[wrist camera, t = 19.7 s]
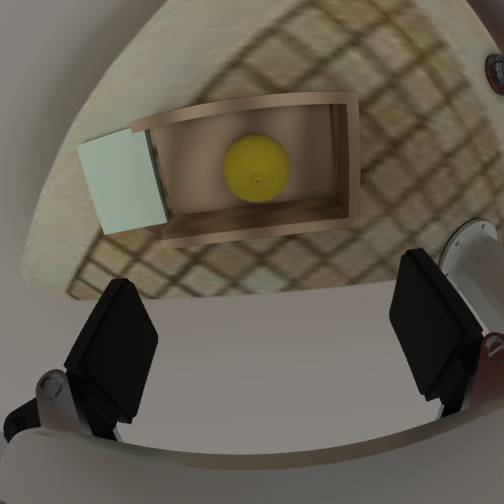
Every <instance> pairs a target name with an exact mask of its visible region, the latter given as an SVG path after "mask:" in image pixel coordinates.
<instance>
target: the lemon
mask: <svg viewBox="0 0 504 504" xmlns="http://www.w3.org/2000/svg"><path fill="white" fill-rule="evenodd" d="M289 174H290V163H289V159H288V156H287V153H286V152H285V150H284V148H283V147H282V146H281V145H280V144H279V143H278V142H277V141H276V140H274V139H272V138H270V137H269V136H265V135H261V134H251V135H247V136H244V137H242V138H240V139H238V140H236V141H235V142H234V143H233V144H232V145H231V146H230V147H229V149H228V150H227V152H226V154H225V157H224V160H223V175H224V179H225V182H226V184H227V185H228V187H229V189H230V190H231V191H232V192H233V193H234V194H235V195H236V196H238V197H239V198H241V199H243V200H246V201H248V202H264V201H267V200H270V199H272V198H274V197H275V196H277V195H278V194H279V193H280V192H281V191H282V190H283V189H284V187H285V185H286V183H287V181H288V178H289Z"/></svg>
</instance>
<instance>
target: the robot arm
mask: <svg viewBox="0 0 504 504" xmlns="http://www.w3.org/2000/svg"><path fill="white" fill-rule="evenodd" d="M458 290H460V291H461V292H462V293H463V294H464V296H465V297H466V299H467V300H468V301H469V303H470V304H471V305H472V307H473V308H474V309H475V311H476V312H477V314H478V315H479V317H480V318H481V320H482V321H483V323H484V324H485V326H486V327H487V329H488V330H489V332H490V333H489V334H487V335H486V336H485V337H483V335H482V331H483V329H482V327H481V326H480V324H479V322H478V321H477V320H476V318H475V316H474V315H473V313H472V312H471V310H470V309H469V308H468V306H467V305H466V303H465V302H464V300H463V299H462V298H461V296H460V295H459V293H458V292H457V291H458ZM389 318H390V322H391V324H392V326H393V329H394V331H395V333H396V335H397V337H398V340H399V342H400V345H401V347H402V349H403V352H404V354H405V356H406V358H407V361H408V364H409V366H410V369H411V371H412V374H413V377H414V379H415V382H416V385H417V387H418V390H419V392H420V394H421V395H424V396H425V398H426V401H430V400H433V399H436V398H440V401H441V406H440V409H439V412H438V414H437V417H436V420H435V421H433V422H430V423H427V424H424V425H421V426H418V427H415V428H412V429H409V430H405V431H402V432H399V433H395V434H392V435H388V436H384V437H380V438H376V439H372V440H368V441H363V442H359V443H354V444H349V445H343V446H338V447H332V448H326V449H318V450H311V451H302V452H292V453H278V454H257V455H225V454H203V453H189V452H179V451H171V450H163V449H156V448H149V447H143V446H138V445H133V444H127V443H124V442H123V440H122V438H121V436H120V434H119V432H118V430H117V428H116V424H117V421H118V422H121V423H127V424H131V423H132V419H133V417H135V416H136V415H137V412H138V408H139V405H140V401H141V398H142V394H143V390H144V387H145V383H146V380H147V376H148V373H149V370H150V366H151V363H152V360H153V356H154V353H155V350H156V347H157V344H158V334H157V332H156V330H155V328H154V326H153V324H152V322H151V320H150V318H149V316H148V313H147V311H146V309H145V307H144V305H143V303H142V301H141V299H140V296H139V294H138V292H137V290H136V287H135V285H134V283H133V282H130V281H129V280H128V279H127V278H121V279H113V280H111V281H110V283H109V284H108V286H107V288H106V289H105V291H104V293H103V294H102V296H101V297H100V299H99V301H98V303H97V304H96V306H95V308H94V309H93V311H92V313H91V314H90V316H89V318H88V320H87V322H86V323H85V325H84V327H83V329H82V331H81V332H80V334H79V336H78V338H77V340H76V342H75V344H74V346H73V347H72V349H71V351H70V353H69V355H68V357H67V359H66V361H65V363H64V367H65V368H66V369H67V371H66V373H64V372H63V371H62V370H59V369H53V370H50V371H48V372H47V373H45V374H44V375H43V376H42V377H41V378H40V380H39V381H38V383H37V386H36V397H35V398H34V399H32V400H31V401H29V402H27V403H26V404H24V405H22V406H21V407H19V408H17V409H16V410H14V411H12V412H11V413H10V414H9V415H8V416H7V417H6V420H5V422H4V428H3V429H4V432H2V431H1V432H0V504H504V248H503V247H502V246H501V245H500V244H499V243H498V239H497V232H496V229H495V227H494V226H493V225H492V224H491V223H490V222H489V221H487V220H485V219H475V220H472V221H470V222H468V223H466V224H465V225H464V226H462V227H461V228H460V229H459V230H458V231H457V232H456V233H455V234H454V235H453V237H452V238H451V239H450V241H449V243H448V244H447V246H446V248H445V250H444V252H443V254H442V257H441V260H440V266H439V267H438V266H437V265H436V263H435V262H434V261H433V260H432V259H431V257H430V256H429V255H428V254H427V253H426V251H425V250H424V249H423V248H417V249H409V250H407V251H406V252H405V254H404V255H402V257H401V261H400V267H399V272H398V277H397V281H396V286H395V290H394V295H393V299H392V303H391V307H390V311H389Z"/></svg>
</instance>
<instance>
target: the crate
mask: <svg viewBox="0 0 504 504" xmlns="http://www.w3.org/2000/svg"><path fill="white" fill-rule="evenodd" d="M129 123H130V128H131V132H132V134H133V133H136V132H140V131H143V130H147V129H151V128H153V132H154V137H155V141H156V146H157V150H158V155H159V159H160V164H161V168H162V172H163V176H164V180H165V184H166V188H167V192H168V196H169V200H170V204H171V208H172V211H173V215H174V217H173V219H172V220H171V222H170V224H169V226H168V228H167V230H166V232H165V233H164V235H163V237H162V239H161V242H162V246H163V249H164V250H165V249H173V248H181V247H188V246H196V245H204V244H213V243H221V242H229V241H237V240H246V239H254V238H263V237H272V236H280V235H289V234H298V233H307V232H316V231H325V230H335V229H344V228H354V227H359V209H360V124H359V106H358V92H346V91H321V92H296V93H281V94H270V95H260V96H251V97H243V98H236V99H229V100H223V101H217V102H211V103H206V104H200V105H195V106H190V107H186V108H181V109H177V110H172V111H168V112H164V113H160V114H156V115H153V116H149V117H145V118H142V119H139V120H135V121H132V122H129ZM251 134H261V135H265V136H269V137H270V138H272V139H274V140H276V141H277V142H278V143H279V144H280V145H281V146H282V147H283V148H284V150H285V152H286V153H287V156H288V159H289V163H290V174H289V178H288V181H287V183H286V185H285V187H284V189H283V190H282V191H281V192H280V193H279V194H278V195H277V196H275V197H274V198H272V199H270V200H267V201H264V202H248V201H246V200H243V199H241V198H239V197H238V196H236V195H235V194H234V193H233V192H232V191H231V190H230V189H229V187H228V185H227V184H226V182H225V179H224V175H223V160H224V157H225V154H226V152H227V150H228V149H229V147H230V146H231V145H232V144H233V143H234V142H235V141H236V140H238V139H240V138H242V137H244V136H247V135H251Z"/></svg>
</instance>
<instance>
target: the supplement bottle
mask: <svg viewBox="0 0 504 504" xmlns="http://www.w3.org/2000/svg"><path fill="white" fill-rule="evenodd" d="M486 68H487V75H488V78H489V81H490V83H491V85H492V87H493V88H494V90H495V91H496V92H497V93H499V94H500V95H504V55H501V54H493V55H491V56H489V58H488V60H487V64H486Z"/></svg>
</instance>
